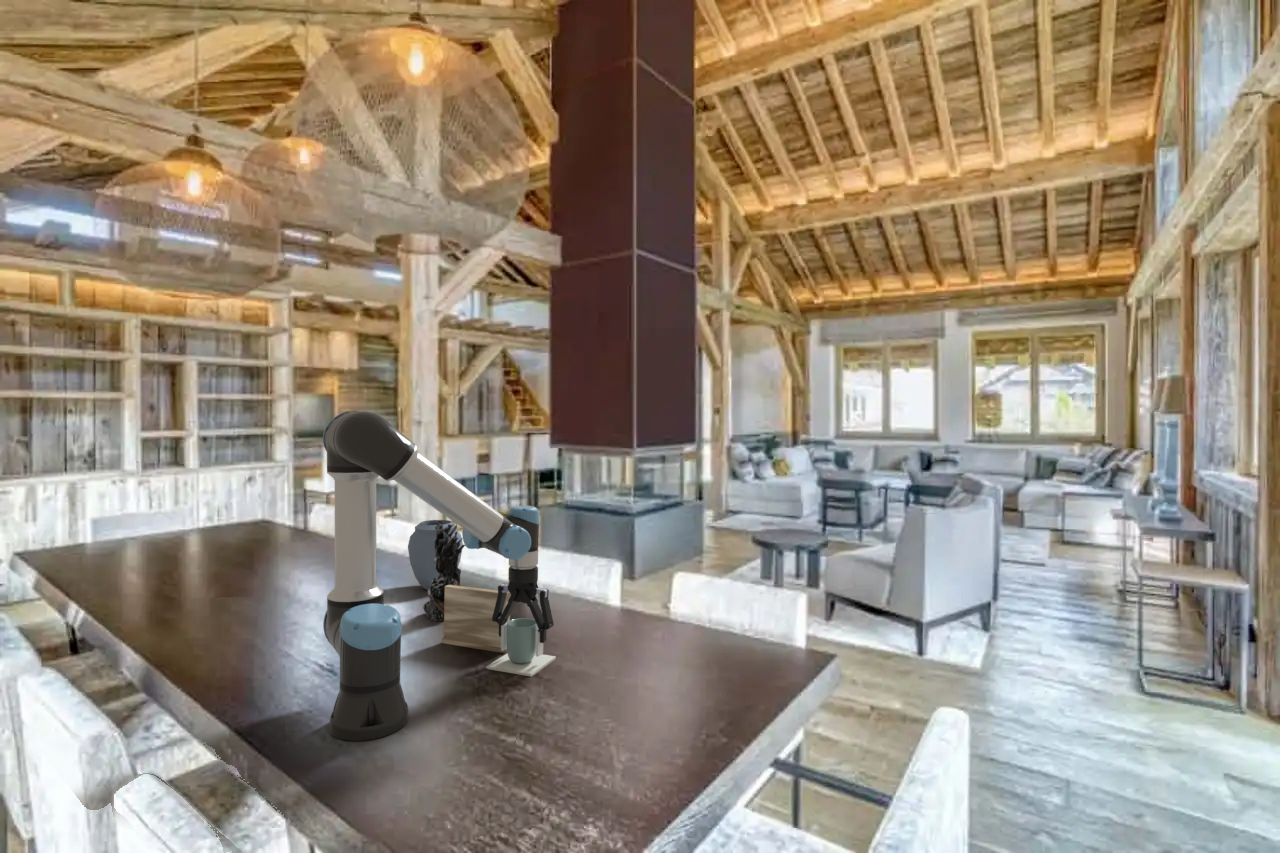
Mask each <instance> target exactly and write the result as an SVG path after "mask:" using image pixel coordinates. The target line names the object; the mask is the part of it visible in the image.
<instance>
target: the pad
mask: <svg viewBox="0 0 1280 853" xmlns="http://www.w3.org/2000/svg"><path fill="white" fill-rule="evenodd" d="M556 659H557V657H556V656H555V655H549V654H544V653H543V654H541V655H540V656H538V657H537V656H536V652H535V655H534V657H533V659H532V660H531V661H530V662H528V663H524V664H518V663H514V662H512V661H511V660H510V659H509V657H508V654H507V653H504V654H503V655H502V656H501V657H499V658H497V659H496V660H494V661H493V662H491V663H489V664H488V665H486V667H485V668H486V670H491V671H496V672H502V673H509V674H516V675H520V676H525V677H530V678H531V677H533V676H535V675H536V674H537V673H539V672H540V671H541V670H542V669H544V668H545V667H547V666H548V665H549V664H551V663H552V662H553V661H555V660H556Z"/></svg>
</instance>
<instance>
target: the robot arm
mask: <svg viewBox="0 0 1280 853" xmlns="http://www.w3.org/2000/svg"><path fill="white" fill-rule="evenodd" d="M322 442H323V443H322V444H323V447H324V449H325V452H326V473H327V474H328V475H329V476H330V477H331V478H332V479H333V481H334V587H333V589H332V590H330V592H329V593H328V594H327V597H326V601H327V602H326V607H327V608H326V611H325V614H324V616H323V626H322V627H323V633H324V636H325V638H326V640H327V642H328V643H329V644H330V645H331V646H332V647H333V649H334V651H336V652H335V653H336V654H337V655H338V656H339V690H338V694H337V696H336V700H335V703H334V706H333V710H332V712H331V714H330V717H329V733H330V735H332V736H333V737H335V738H336V739H339V740H342V741H351V742H355V741H356V742H357V741H358V742H360V741H361V742H362V741H370V740H376V739H379V738H383V737H385V736H389V735H391V734H395V733H396V732H397V731H399V730H401V729H402V728H403V727H405V726H406V724H407V723H408V721H409V705H408V703H407V702H406V699H405V695H404V691H403V688H402V683H401V657H402V656H401V652H402V651H401V649H402V648H401V647H402V645H401V643H402V640H401V638H402V631H403V627H402V626H403V625H402V620H401V614H400V612H399V611H398V610H397V609H396V608H394V607H393V606H392V605H391V606H390V605H385V604H384V603H385V602H384V595H385V594H384V589H383V588H382V587H381V586H380V585H379V584H377V479H378V477H380V478H382V479H383V480H384V481H386V482H388V481H395V482H396V483H397V484H399V485H400V486H402V487H404V488H405V489H406V490H408V491H409V492H410V493H412V494H413V495H415V496H416V497H417V498H419V499H420V500H421V501H423V502H425V503H426V504H427V505H429V506H431V507H432V508H433V509H434V510H436V511H437V512H439V513H440V514H442V515H443V516H444V517H446V518H448V519H449V521H451V522H452V523H454V524H455V525H456V524H457V526H459V527H460V528H462V531H461V532H462V533H461V537H462V538H463V539H462V542H463V545H465V546H464V547H466V548H467V549H468V550H475V549H477V550H479V549H486V550H489V551H491V552H493V553H496V554H497V555H500V556H502V557H503V558H505V559H508V566H509V567H508V584H506V583H502V584H500V585H498V586H497V591H498V597H497V601H496V605H495V609H494V613H493V617H492V621H493V622H497V623H498V624H499V636H500V637H501V651H504V650H506V649H507V623H506V622H507V621H508V620H507V619H508V618H509V616H510V617H511V613H512V612H513V610H514V608H515V606H516V605H517V603H523V604H525V605H527V607H529V610H530V613H531V614H532V617H533V618H534V619H533V620H535V621H536V624H537V626H538V630H537V631H536V652H535V653H536V656H537V657H538V656H540V655H541V654H543V655H544V643H546V641H547V630H549V629H551V628H553V627H554V625H555V624H554V620H553V614H552V610H551V609H552V608H551V604H550V600H549V592H550V591H549V589H548V588H544V589H543V588H539V585H538V581H539V567H538V564H539V538H540V537H539V536H540V535H539V533H540V532H539V531H540V530H539V529H540V528H539V527H540V515H539V514H540V513H539V509H538V508H537V507H535V506H533V505H516V506H511V507H510V509H509V512H508V514H507V515H502V514H501V513H500V512H499V511H497V510H496V509H494V508H493V507H492V506H491V505H490V504H488V503H486V501H484V500H483V499H482V498H480V497H478V496H477V495H476V494H475V493H473V492H472V491H470V490H469V489H468V488H467V487H465V486H464V485H462V483H460V482H458V481H457V480H456V479H455V478H453V477H451V476H450V475H449V474H448V473H446V472H445V471H444V470H442V469H441V468H440V467H438V466H437V465H436V464H434V463H433V462H432V461H430V460H429V459H428V458H427V457H425V456H424V455H422V454H421V453H419V452H418V447H417V444H416V443H415V442H413V441H412V440H410V438H408V437H407V436H406V435H405V434H403V433H402V432H401V431H400V430H398V429H397V428H396V427H395V426H394V424H392V423H390V422H389V421H388V420H387V419H386V418H384V417H383V416H381V415H379V414H377V413H375V412H371V411H363V410H362V411H357V410H351V411H350V410H349V411H348V410H347V411H344V412H341V413H339V414H338V415H336V416H334V417H333V418H332V419H331V420H329V422H328V423H327V424H326V426H325V428H324V431H323V435H322ZM507 592H510V598H509V600H508V603H507V605H506V607H505V609H504V611H503V607H504V603H505V599H506V595H507ZM536 595H537V596H536ZM537 597H538V598H539V599H537ZM539 605H540V606H539ZM502 611H503V613H502Z"/></svg>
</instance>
